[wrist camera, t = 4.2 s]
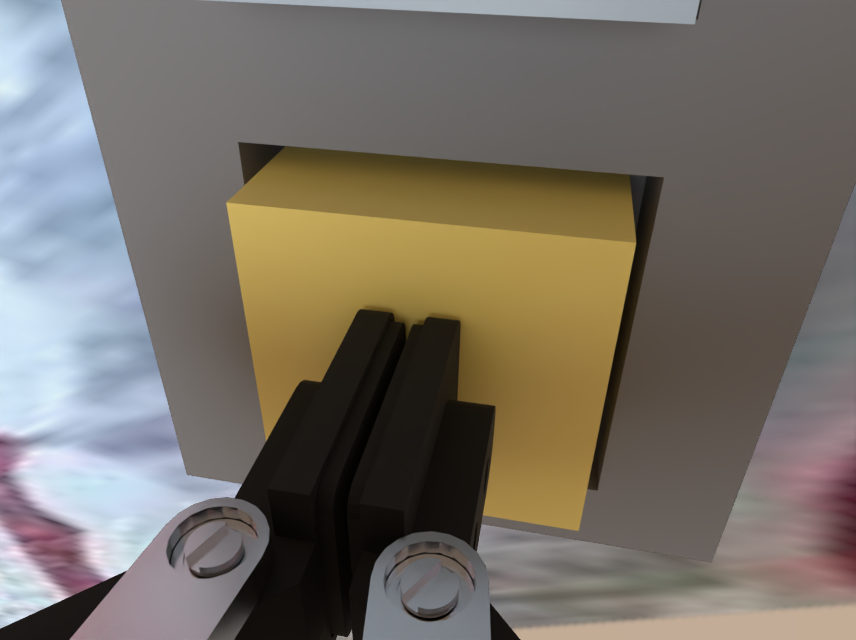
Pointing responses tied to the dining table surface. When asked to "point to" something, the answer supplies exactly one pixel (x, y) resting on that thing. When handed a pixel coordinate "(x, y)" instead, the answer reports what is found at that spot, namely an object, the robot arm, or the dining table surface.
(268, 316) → the mustard button
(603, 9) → the blue button
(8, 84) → the dining table surface
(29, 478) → the dining table surface
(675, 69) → the button board
